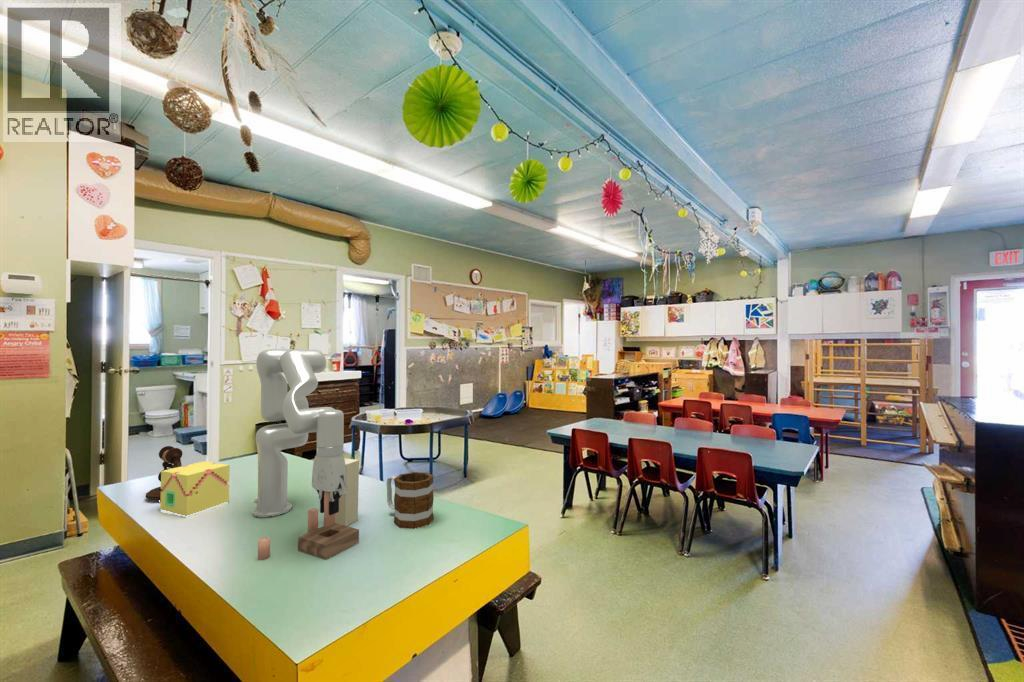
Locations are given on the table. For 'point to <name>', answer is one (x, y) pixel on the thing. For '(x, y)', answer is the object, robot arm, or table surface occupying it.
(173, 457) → the brown rounded figure
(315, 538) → the hole block
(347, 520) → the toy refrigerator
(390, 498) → the mug
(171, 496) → the toy block
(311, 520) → the pin medium
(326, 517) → the pin long
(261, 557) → the pin short
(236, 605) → the table surface
